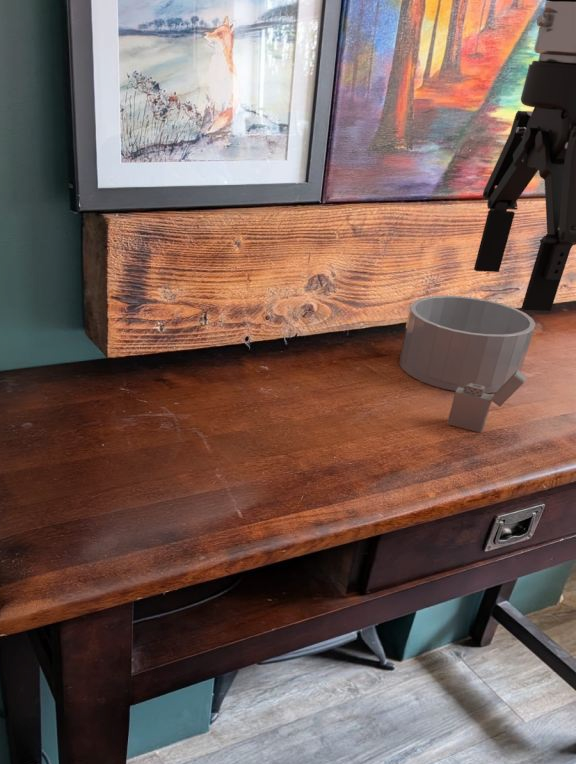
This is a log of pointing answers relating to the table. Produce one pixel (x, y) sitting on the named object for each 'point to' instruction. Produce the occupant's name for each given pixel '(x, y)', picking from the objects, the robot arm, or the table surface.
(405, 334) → the canister
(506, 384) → the lighter
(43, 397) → the table surface
